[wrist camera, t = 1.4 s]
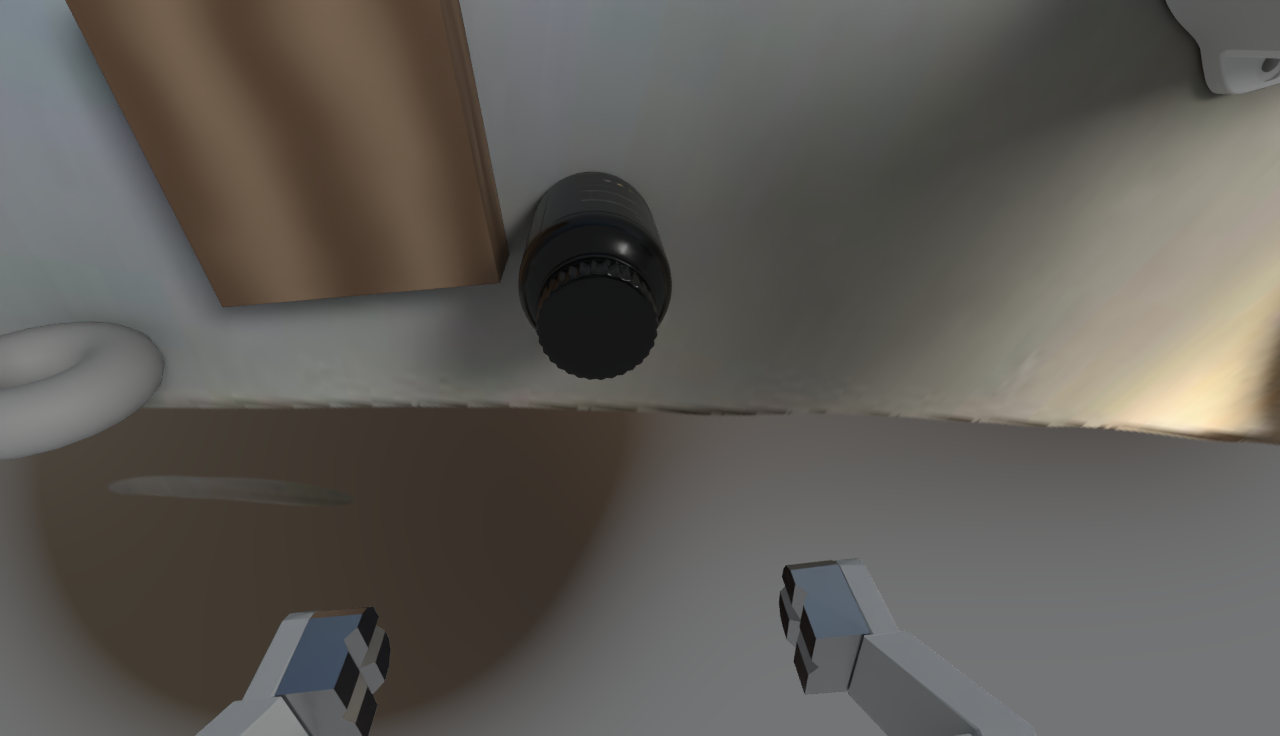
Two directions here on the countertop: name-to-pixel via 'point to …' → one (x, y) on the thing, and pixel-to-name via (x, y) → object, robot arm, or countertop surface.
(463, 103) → the walnut base
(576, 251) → the supplement bottle
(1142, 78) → the countertop surface
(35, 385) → the donut
